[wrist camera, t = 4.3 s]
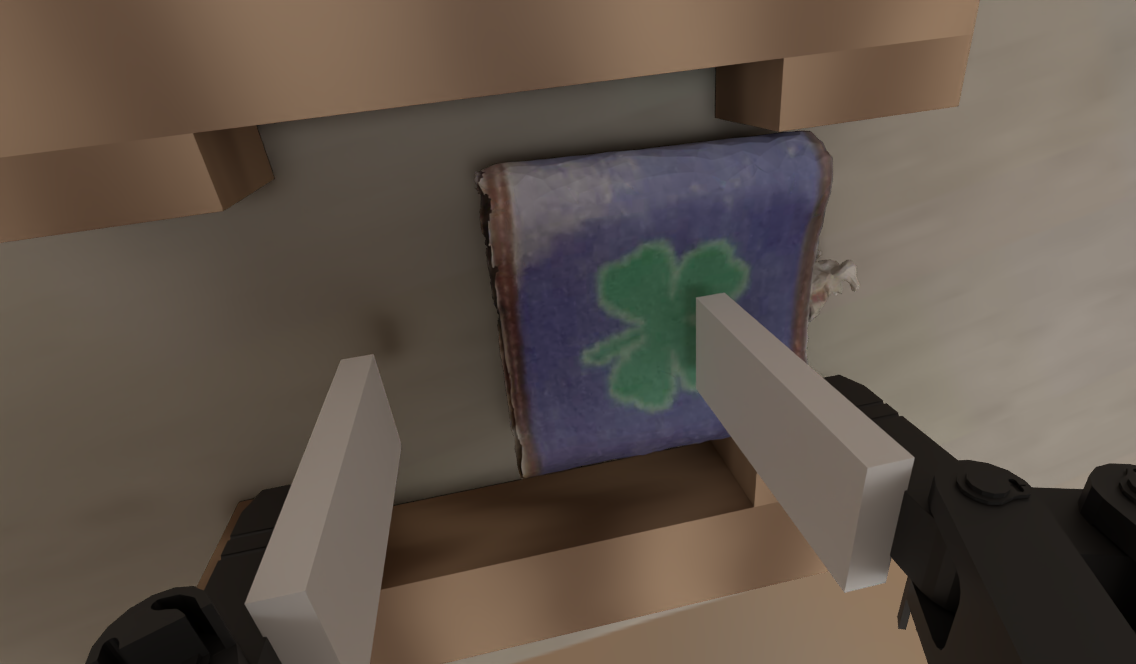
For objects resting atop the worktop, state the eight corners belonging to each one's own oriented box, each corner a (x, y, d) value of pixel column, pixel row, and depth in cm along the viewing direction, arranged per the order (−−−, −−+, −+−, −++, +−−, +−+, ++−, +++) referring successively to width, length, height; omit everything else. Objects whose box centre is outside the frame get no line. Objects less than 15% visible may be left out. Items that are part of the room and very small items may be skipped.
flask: (478, 174, 12) (908, 124, 14) (468, 157, 14) (831, 116, 16) (525, 503, 16) (853, 429, 18) (511, 443, 18) (798, 384, 20)
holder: (294, 610, 21) (265, 706, 18) (-49, -63, 11) (-241, -110, 8) (810, 495, 23) (865, 562, 20) (892, -144, 14) (1021, -205, 10)
